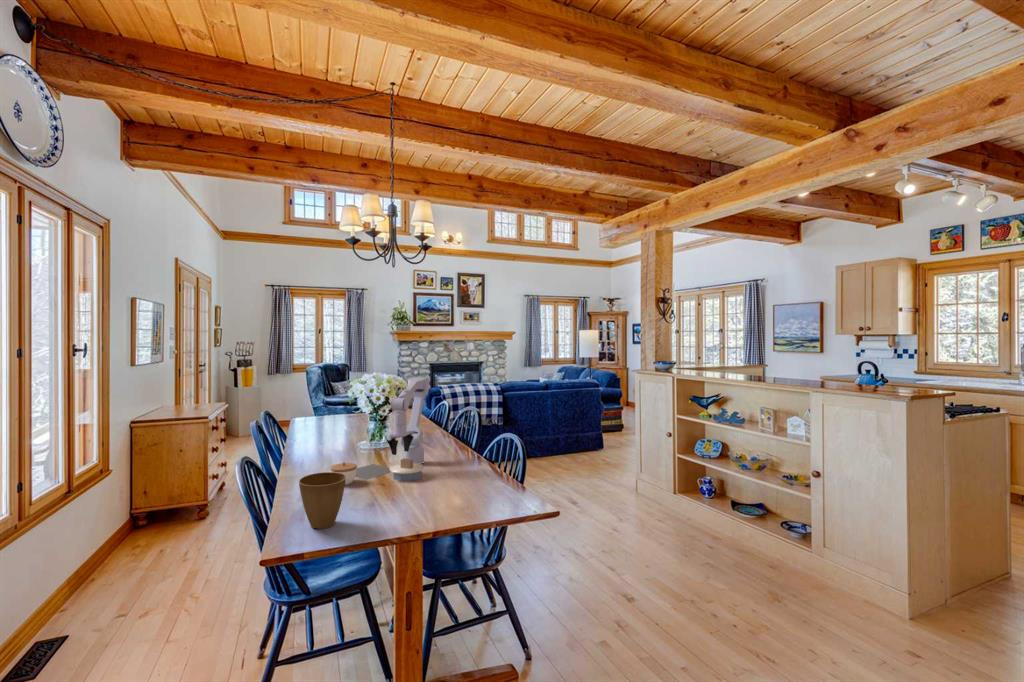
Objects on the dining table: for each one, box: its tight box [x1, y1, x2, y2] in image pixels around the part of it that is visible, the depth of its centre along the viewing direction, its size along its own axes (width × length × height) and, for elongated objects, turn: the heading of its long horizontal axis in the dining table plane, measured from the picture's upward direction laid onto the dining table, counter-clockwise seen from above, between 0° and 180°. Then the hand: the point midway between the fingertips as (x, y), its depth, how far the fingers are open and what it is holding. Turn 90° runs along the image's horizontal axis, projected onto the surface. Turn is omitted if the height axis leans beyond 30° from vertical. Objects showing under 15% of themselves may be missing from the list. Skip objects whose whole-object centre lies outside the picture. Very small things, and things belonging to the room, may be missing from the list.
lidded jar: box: [330, 461, 358, 486], centre depth 208 cm, size 11×11×9 cm
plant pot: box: [298, 471, 346, 529], centre depth 164 cm, size 15×15×16 cm
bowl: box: [393, 470, 423, 483], centre depth 218 cm, size 12×12×4 cm
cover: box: [389, 458, 425, 474], centre depth 218 cm, size 15×15×4 cm
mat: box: [355, 463, 391, 480], centre depth 226 cm, size 18×18×1 cm
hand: (400, 452), depth 224 cm, fingers open, 7 cm apart
